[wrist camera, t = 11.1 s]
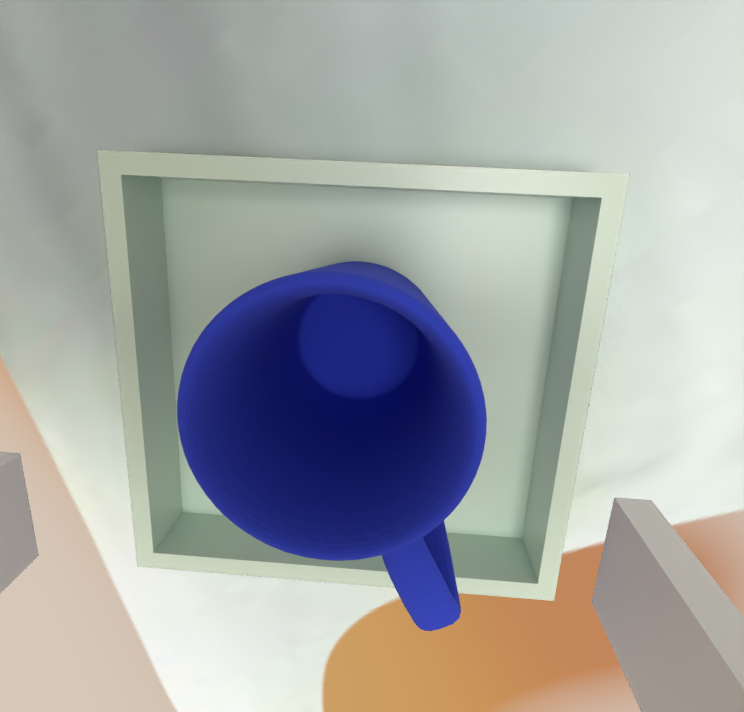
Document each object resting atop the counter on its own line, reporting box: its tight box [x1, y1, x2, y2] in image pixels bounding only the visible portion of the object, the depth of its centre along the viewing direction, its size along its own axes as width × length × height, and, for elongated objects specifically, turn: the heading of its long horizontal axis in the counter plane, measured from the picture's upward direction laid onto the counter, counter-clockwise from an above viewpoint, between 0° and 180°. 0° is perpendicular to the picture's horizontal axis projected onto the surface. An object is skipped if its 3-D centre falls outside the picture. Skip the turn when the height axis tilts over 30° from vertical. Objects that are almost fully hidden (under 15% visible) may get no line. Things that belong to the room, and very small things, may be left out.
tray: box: [97, 150, 630, 601], centre depth 22 cm, size 18×19×4 cm
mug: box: [177, 261, 487, 631], centre depth 19 cm, size 8×12×10 cm
